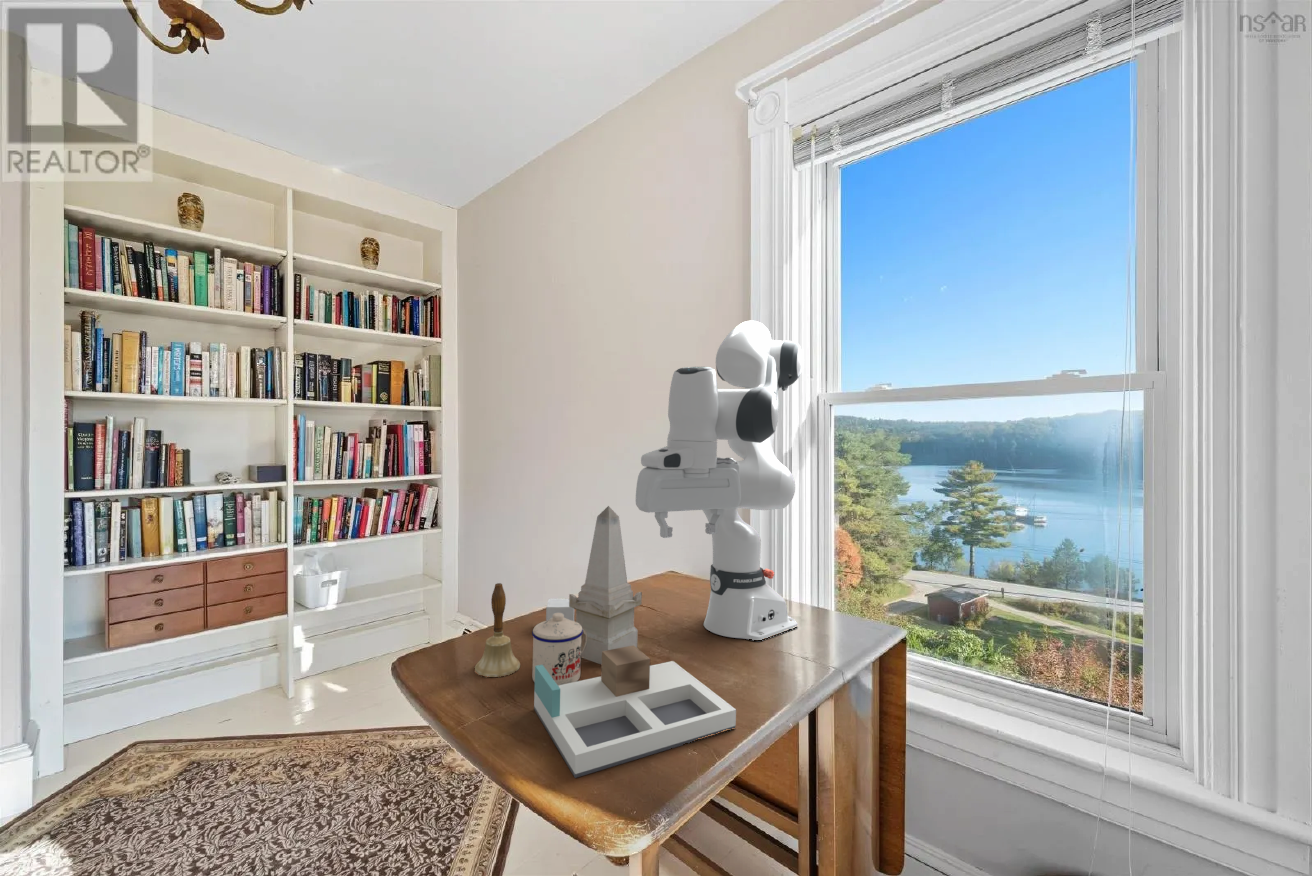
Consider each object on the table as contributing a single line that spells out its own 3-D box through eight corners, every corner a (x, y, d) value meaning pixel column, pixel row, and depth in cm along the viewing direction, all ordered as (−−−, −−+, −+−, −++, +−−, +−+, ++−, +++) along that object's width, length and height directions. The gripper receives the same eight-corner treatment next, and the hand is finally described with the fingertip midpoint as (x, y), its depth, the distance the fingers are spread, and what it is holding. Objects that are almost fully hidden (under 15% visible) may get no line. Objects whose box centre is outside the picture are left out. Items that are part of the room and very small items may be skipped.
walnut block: (633, 673, 92) (633, 645, 92) (649, 688, 87) (650, 658, 87) (601, 680, 89) (601, 651, 89) (615, 696, 84) (616, 665, 84)
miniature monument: (640, 650, 110) (644, 505, 109) (607, 668, 101) (612, 511, 101) (601, 638, 116) (605, 500, 115) (567, 654, 107) (571, 505, 106)
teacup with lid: (555, 695, 90) (557, 627, 90) (520, 679, 96) (521, 614, 95) (602, 670, 100) (604, 609, 100) (568, 657, 105) (570, 599, 105)
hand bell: (515, 678, 96) (517, 590, 96) (468, 678, 95) (470, 590, 95) (523, 658, 104) (525, 577, 104) (480, 658, 104) (482, 577, 103)
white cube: (547, 624, 123) (548, 598, 123) (573, 624, 124) (574, 598, 124) (545, 634, 117) (546, 607, 117) (573, 633, 118) (573, 606, 118)
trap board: (672, 677, 98) (673, 639, 98) (735, 728, 81) (736, 683, 81) (534, 709, 86) (535, 665, 85) (574, 778, 69) (576, 724, 69)
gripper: (728, 456, 101) (726, 528, 102) (632, 456, 92) (630, 535, 92) (749, 458, 96) (747, 534, 96) (649, 458, 86) (647, 543, 86)
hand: (689, 535), depth 94 cm, fingers open, 8 cm apart
